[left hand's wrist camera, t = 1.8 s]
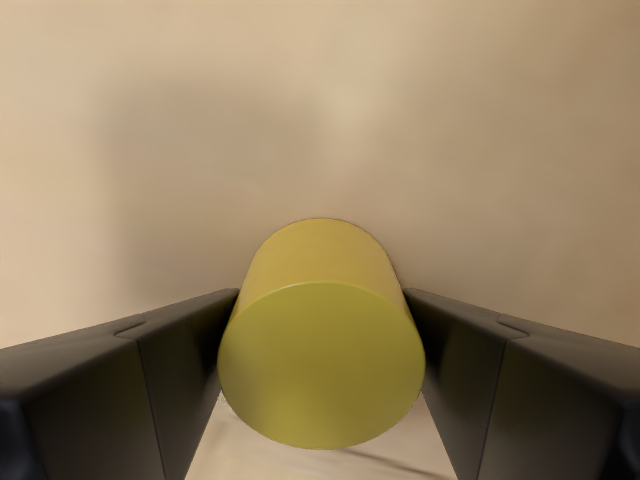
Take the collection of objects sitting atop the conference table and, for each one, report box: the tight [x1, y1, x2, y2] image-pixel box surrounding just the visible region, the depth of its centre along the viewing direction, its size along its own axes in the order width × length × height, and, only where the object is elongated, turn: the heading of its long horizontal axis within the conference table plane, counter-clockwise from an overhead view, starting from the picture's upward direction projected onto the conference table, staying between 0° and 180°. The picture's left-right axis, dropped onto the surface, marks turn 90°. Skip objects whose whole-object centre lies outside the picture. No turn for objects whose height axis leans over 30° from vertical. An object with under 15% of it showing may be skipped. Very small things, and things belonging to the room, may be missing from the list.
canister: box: [217, 218, 426, 450], centre depth 11 cm, size 5×5×4 cm
